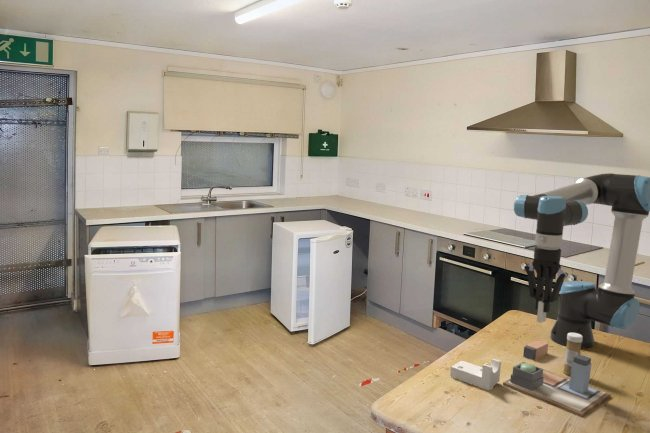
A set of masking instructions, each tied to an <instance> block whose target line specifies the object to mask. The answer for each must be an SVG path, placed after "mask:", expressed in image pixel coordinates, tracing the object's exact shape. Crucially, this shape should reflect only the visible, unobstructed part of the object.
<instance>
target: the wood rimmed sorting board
mask: <svg viewBox="0 0 650 433" xmlns="http://www.w3.org/2000/svg"><path fill="white" fill-rule="evenodd" d="M543 377H544V379H543V385H541V386H539V387H538V388H536V389H534V390H532V391H531V390H528V389H526V388H523V387H521V386H518V385H516V384H513V383H511V382H510V379H511V378H509V379H508V380H505V381H503V382H502V385H503V386H505V387H507V388H510V389H512V390H515V391H517V392H519V393H522V394H525V395H527V396H529V397H531V398H534V399H536V400H540V401H542V402H545V403H547V404H549V405H551V406H554V407H556V408H559V409H561V410H563V411H566V412H569V413H571V414H574V415H576V416H579V417H581V418H583V417H584V416H585V415H587V414H588V413H590V412H591V411H592V410H594V409H595V408H596V407H598V406H599V405H601V404H602V403H604V402H605V401H606V400H608V399H609V398H610V397H611V394H612V393H609V392H607V391H604V390H601V389H598V388H596V387H593V386H591V385H589V388H588V390H587V391H586V392H584V393H583V394H582V393H580V392H577V391H574V390H572V389H569V385H570V378H568V377H565V376H563V375H560V374H557V373H554V372H552V371H549V370H546V369H543Z"/></svg>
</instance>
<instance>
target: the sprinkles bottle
mask: <svg viewBox="0 0 650 433" xmlns="http://www.w3.org/2000/svg"><path fill="white" fill-rule="evenodd" d="M582 339H583V336H582V335H580V334H578V333H568V334H567V346H566V347H565V354H564V355H565V356H564V365H563V371H562V372H563V373H564V374H565V375H566V376H569V377H571V369H572V362H573V360H574V357H575V356H577V355H579V354H580V355H581V350H582V348H581V343H582Z"/></svg>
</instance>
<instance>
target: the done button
mask: <svg viewBox="0 0 650 433" xmlns="http://www.w3.org/2000/svg"><path fill="white" fill-rule="evenodd" d="M522 363H523V362H522ZM535 366H536V365H534V364H532V363H527V362H525V363H523V364H521V368H520V369H522V370H524V371H527V372H530V373H534V372H536V367H537V366H536V367H535Z"/></svg>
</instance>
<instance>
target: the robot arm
mask: <svg viewBox="0 0 650 433" xmlns="http://www.w3.org/2000/svg"><path fill="white" fill-rule="evenodd" d="M592 204H597V205H604V206H610V207H611V213H612V215H613V216H614V222H613V227H612V233H611V240H610V245H609V250H608V251H609V252H608V257H607V264H606V269H605V275H604V280H603V283H600V284H599V285H598V287H597V285H596V284H595V282H592V281H584V280H582V281H581V280H571V281H570V280H569V281H568V280H567V281H565V280H566V278H567V277H569V273H568V272H565V271H564V270H563V269H562V266H561V263H560V262H561V255H562V249H561V248H562V247H563V234H564V227H566V226H577V225H578V224H581V223H584V222H585V221H586V220H587V218H588V216H589V208H588V206H587V205H592ZM513 212H514V214H515V216H517V217H521V218H524V219H530V220H536V231H535V240H534V241H535V242H534V244H535V247H534V251H533V252H534V253H533V260H532V262H531V264H527V265H525V266H524V270H525V272H526V276H527V281H528V283H527V284H528V288H529V297H531V298H533V299H535V306H534V309H535V310H536V311H537V313H536V314H537V316H536V322H538V323H544V322H546V321H547V313H549V312H550V307H551V303H554V302H555V301H557V300H558V297H559V301H558V310H557V319H556V320H555V323H554V325H553V326H552V329H551V331H550V339H551V340H552V341H553V342H554V343H556V344H559V345H563V346H566V347H567V334H568V333H578V334H580V335H582V336H583V339H582V343H581V349H589V348H592V347H594V343H595V342H594V341H595V338H594V333H593V328H592V321H593V322H596V323H600V324H603V325H606V326H609V327H610V328H616V329H620V330H625V329H626V330H627V329H628V328H630V327H631V326H632V325H633V324H634V323H635V321H636V319H637V318H638V316H639V312H640V308H641V305H640V303H641V302H640V300H639V299H638V298H635V295H636V292H635V290H634V289H633V288H632V283H633V278H634V272H635V267H636V260H637V253H638V249H639V242H640V238H641V231H642V225H643V221H644V220H645V219H646V218H648V217H649V215H650V176H643V175H634V174H623V173H621V174H620V173H619V174H618V173H609V172H608V173H599V174H594V175H590V176H587V177H584V178H579V179H578V180H576V181H575V182H574V183H572V184H570V185H566V186H563V187H559V188H556V189H553V190H548V191H546V192H542V193H539V194H535V195H529V194H520V195H519V196H517V197H516V198H515V200H514V202H513ZM535 273H536V274H535ZM556 275H557V278H556V280H555V284H553V282H554V277H555V276H556ZM564 281H565V282H564ZM553 286H554V287H553Z"/></svg>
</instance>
